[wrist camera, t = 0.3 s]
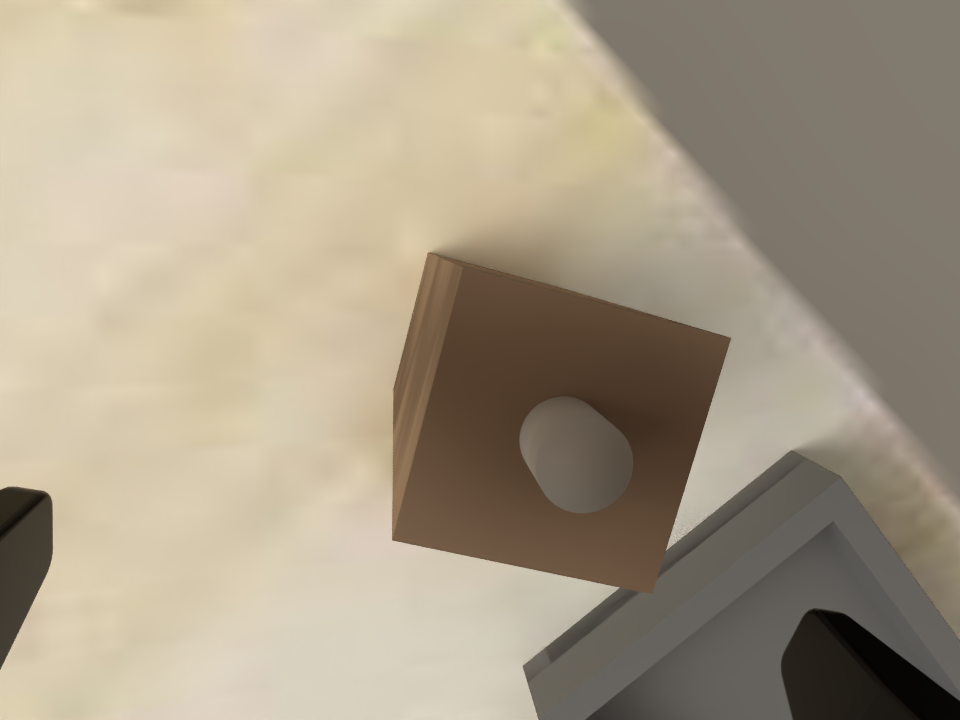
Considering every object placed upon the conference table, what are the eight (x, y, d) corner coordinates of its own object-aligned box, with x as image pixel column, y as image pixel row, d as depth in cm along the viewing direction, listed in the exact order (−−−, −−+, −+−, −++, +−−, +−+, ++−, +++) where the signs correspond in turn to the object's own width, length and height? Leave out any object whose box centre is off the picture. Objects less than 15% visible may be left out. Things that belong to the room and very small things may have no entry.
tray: (715, 882, 29) (751, 955, 26) (522, 666, 26) (538, 719, 23) (963, 685, 29) (1029, 736, 26) (791, 450, 26) (841, 477, 23)
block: (526, 420, 25) (685, 640, 11) (393, 389, 24) (391, 581, 11) (562, 288, 24) (777, 351, 11) (428, 252, 24) (473, 271, 10)
